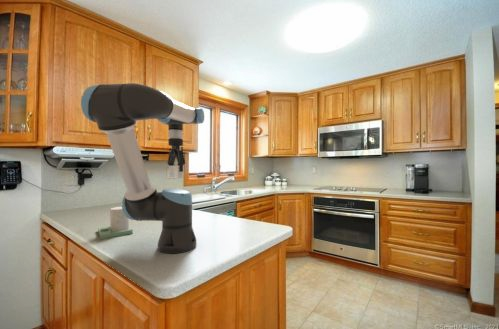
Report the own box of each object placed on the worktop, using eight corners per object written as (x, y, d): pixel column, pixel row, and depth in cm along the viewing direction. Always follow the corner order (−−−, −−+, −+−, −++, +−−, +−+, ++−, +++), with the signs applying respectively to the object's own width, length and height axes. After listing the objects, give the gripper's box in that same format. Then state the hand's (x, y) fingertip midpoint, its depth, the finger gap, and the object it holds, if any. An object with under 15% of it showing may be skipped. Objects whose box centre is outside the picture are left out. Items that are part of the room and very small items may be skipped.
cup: (106, 233, 111) (106, 209, 111) (119, 229, 119) (119, 206, 119) (120, 234, 109) (120, 209, 109) (132, 230, 117) (132, 206, 117)
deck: (132, 233, 111) (132, 228, 111) (101, 239, 103) (101, 233, 103) (126, 226, 123) (126, 222, 123) (98, 231, 115) (98, 226, 115)
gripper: (191, 136, 115) (191, 178, 115) (174, 141, 135) (174, 176, 135) (177, 135, 111) (177, 178, 111) (161, 140, 130) (161, 177, 130)
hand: (175, 177), depth 123 cm, fingers open, 13 cm apart
